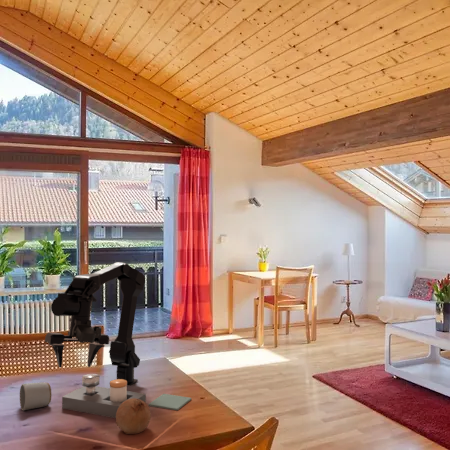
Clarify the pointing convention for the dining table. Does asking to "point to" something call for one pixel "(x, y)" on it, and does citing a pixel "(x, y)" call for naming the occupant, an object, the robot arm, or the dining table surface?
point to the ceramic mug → (35, 395)
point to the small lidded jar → (118, 390)
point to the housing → (96, 401)
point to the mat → (170, 402)
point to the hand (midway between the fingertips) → (74, 367)
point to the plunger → (90, 383)
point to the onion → (133, 416)
